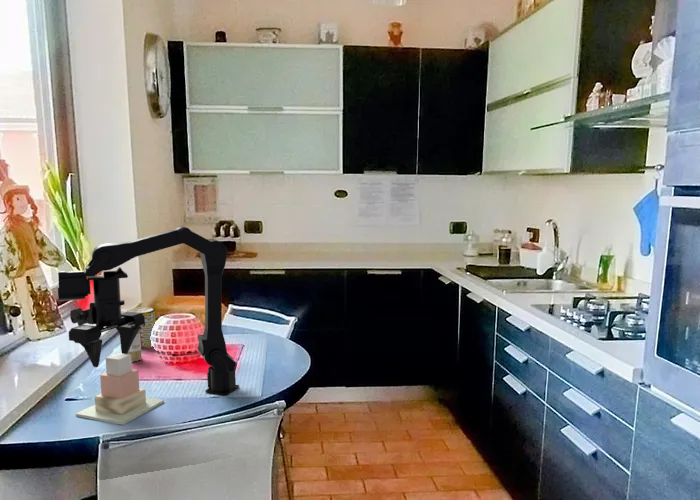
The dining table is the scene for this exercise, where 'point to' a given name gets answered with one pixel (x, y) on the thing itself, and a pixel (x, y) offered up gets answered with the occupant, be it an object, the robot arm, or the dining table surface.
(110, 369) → the cap block
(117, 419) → the baseplate
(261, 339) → the dining table surface
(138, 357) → the sprinkles bottle
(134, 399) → the block
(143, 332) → the yellow food can
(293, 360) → the dining table surface
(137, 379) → the coral block
